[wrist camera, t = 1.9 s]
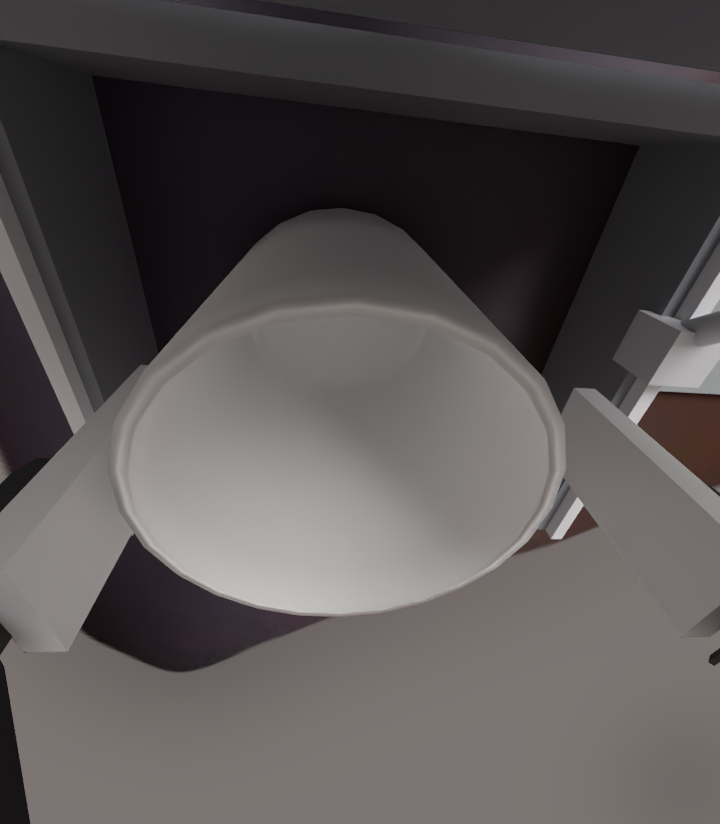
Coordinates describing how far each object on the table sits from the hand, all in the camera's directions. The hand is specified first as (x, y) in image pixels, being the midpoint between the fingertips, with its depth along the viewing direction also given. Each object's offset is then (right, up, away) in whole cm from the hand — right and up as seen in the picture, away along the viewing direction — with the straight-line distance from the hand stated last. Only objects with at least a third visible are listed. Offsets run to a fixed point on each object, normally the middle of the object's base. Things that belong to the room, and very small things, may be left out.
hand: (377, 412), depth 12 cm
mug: (0, +4, +6) cm, 7 cm away
